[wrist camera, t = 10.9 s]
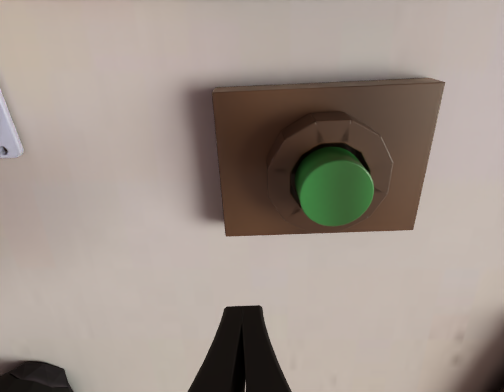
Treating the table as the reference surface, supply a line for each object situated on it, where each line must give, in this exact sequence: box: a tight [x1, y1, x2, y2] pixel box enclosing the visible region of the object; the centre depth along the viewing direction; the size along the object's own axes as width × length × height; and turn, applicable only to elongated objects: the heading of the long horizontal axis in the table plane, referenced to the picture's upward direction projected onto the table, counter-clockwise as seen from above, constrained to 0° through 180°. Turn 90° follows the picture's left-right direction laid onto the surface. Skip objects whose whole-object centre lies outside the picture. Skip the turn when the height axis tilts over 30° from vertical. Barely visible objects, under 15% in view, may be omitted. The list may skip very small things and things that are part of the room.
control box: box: [212, 78, 445, 236], centre depth 19 cm, size 12×9×4 cm
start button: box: [295, 147, 374, 226], centre depth 16 cm, size 4×4×2 cm
